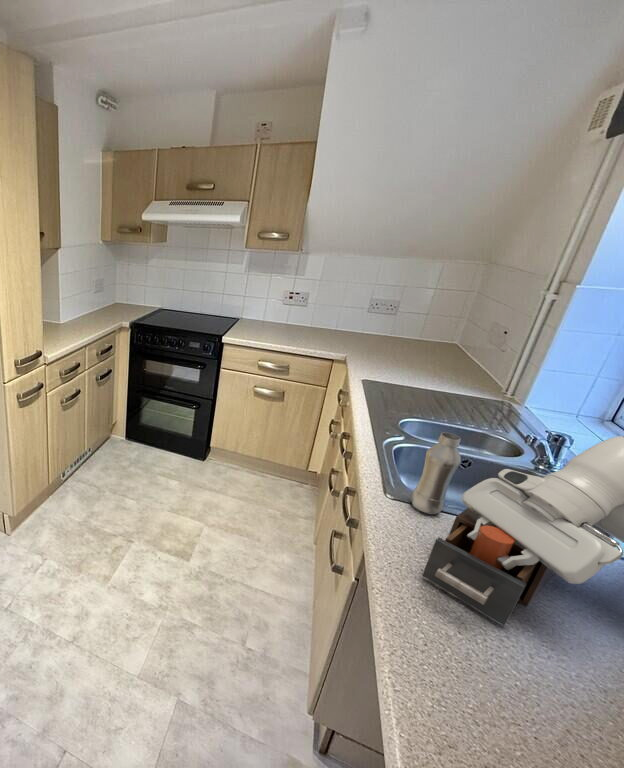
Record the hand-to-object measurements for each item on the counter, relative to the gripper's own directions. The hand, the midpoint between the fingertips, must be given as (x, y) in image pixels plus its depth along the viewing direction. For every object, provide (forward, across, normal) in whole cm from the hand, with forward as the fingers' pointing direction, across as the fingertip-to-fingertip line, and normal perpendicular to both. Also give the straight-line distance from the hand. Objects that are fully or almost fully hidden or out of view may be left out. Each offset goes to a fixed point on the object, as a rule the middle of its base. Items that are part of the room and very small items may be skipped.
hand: (485, 552), depth 74 cm
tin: (+3, 0, -4) cm, 5 cm away
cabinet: (-2, +6, -14) cm, 16 cm away
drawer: (+6, 0, -6) cm, 8 cm away
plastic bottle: (-1, +23, -14) cm, 27 cm away
